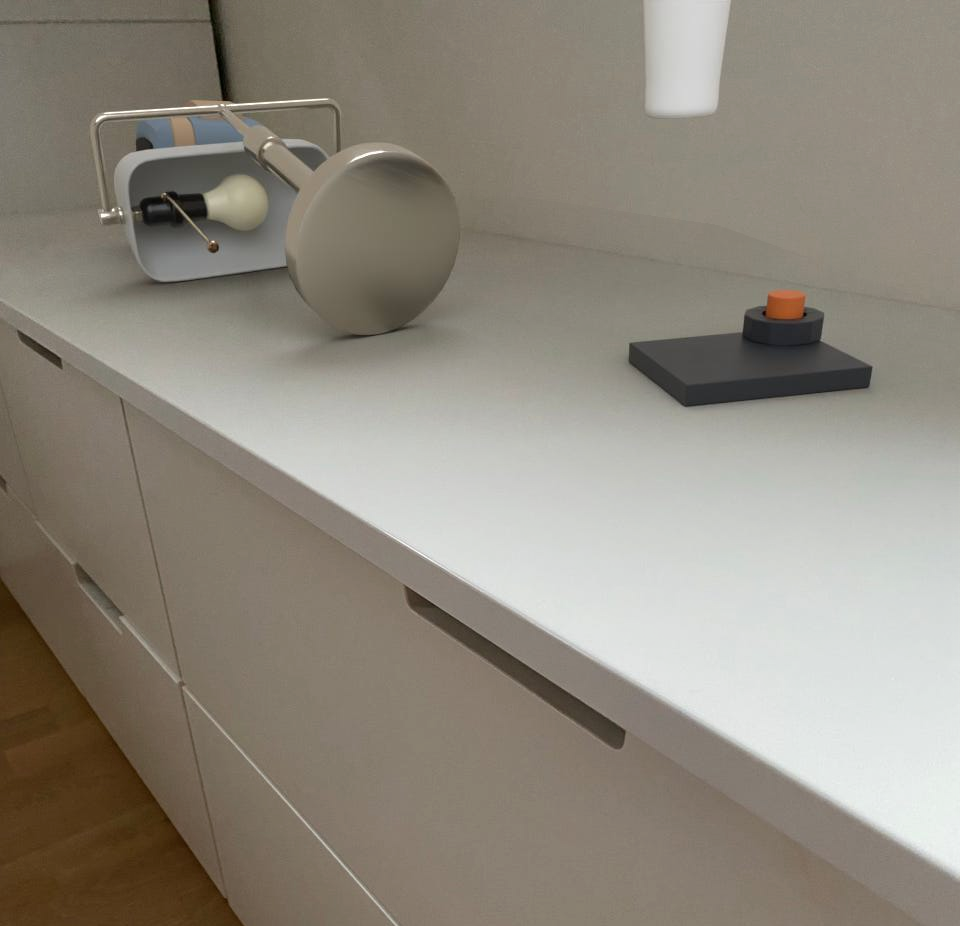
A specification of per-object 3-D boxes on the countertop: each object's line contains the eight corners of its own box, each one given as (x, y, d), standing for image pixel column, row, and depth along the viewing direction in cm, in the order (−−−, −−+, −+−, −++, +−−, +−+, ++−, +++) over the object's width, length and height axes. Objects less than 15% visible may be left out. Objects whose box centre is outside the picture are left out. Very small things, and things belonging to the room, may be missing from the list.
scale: (796, 342, 75) (801, 302, 74) (880, 386, 65) (888, 340, 64) (624, 358, 73) (626, 317, 71) (685, 406, 63) (688, 359, 62)
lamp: (504, 393, 93) (326, 231, 117) (535, 137, 78) (323, 11, 101) (232, 453, 82) (96, 260, 106) (205, 167, 66) (53, 17, 90)
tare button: (791, 313, 72) (794, 288, 71) (809, 321, 70) (812, 295, 69) (759, 316, 72) (761, 291, 71) (775, 324, 70) (778, 298, 69)
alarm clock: (146, 239, 129) (119, 101, 120) (268, 227, 134) (250, 94, 126) (168, 258, 116) (139, 105, 108) (302, 244, 121) (284, 97, 113)
